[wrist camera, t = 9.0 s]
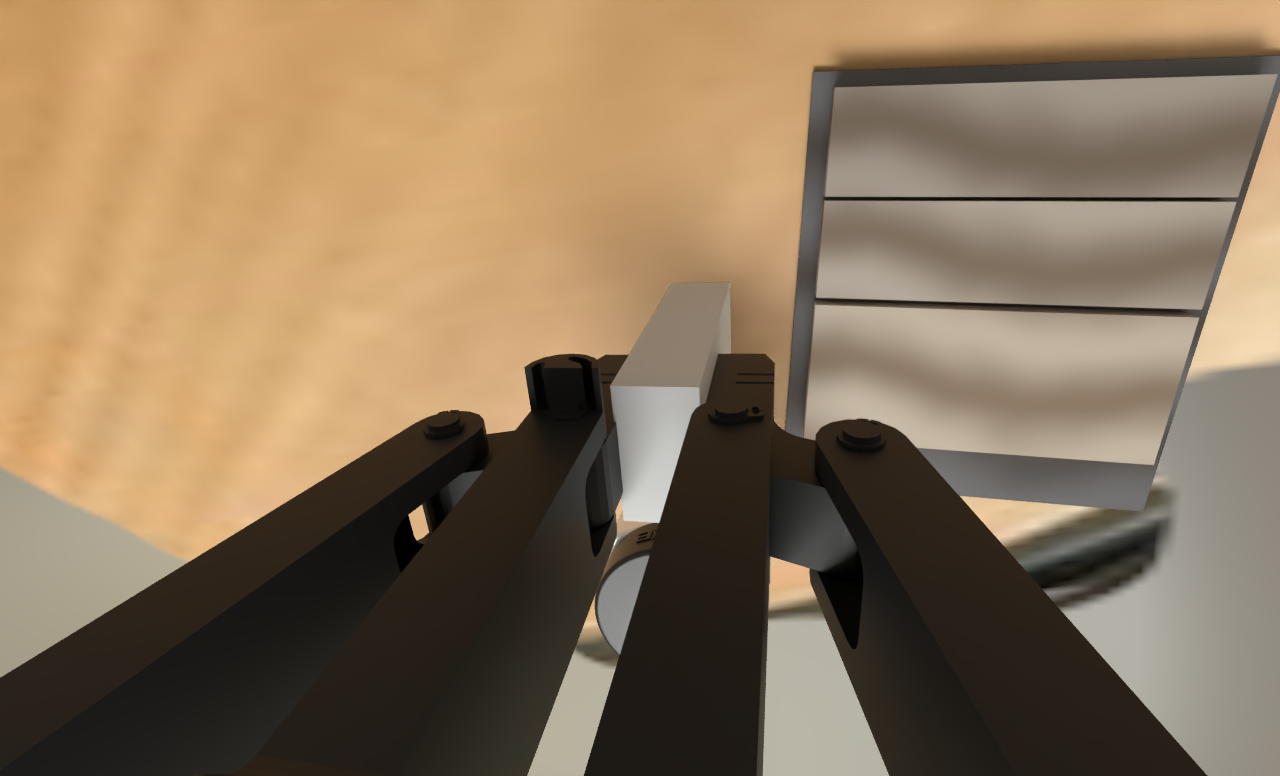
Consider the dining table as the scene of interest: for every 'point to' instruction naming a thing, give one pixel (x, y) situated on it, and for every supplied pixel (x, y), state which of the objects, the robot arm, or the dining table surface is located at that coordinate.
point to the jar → (623, 579)
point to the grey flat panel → (1029, 211)
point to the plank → (1000, 376)
